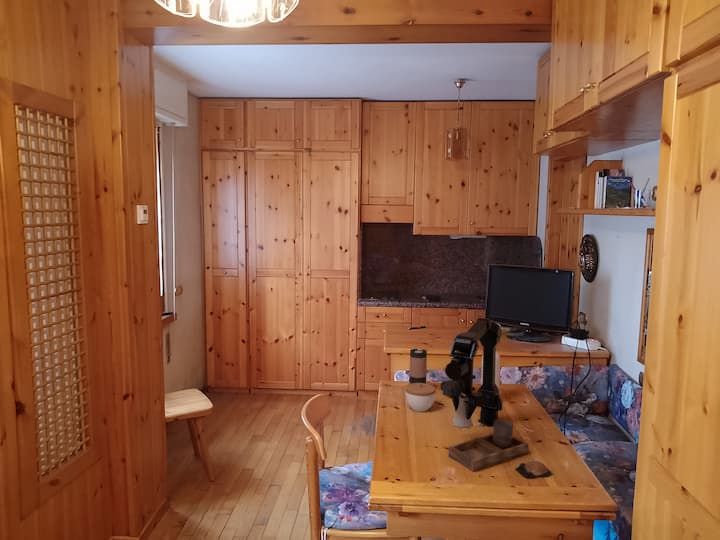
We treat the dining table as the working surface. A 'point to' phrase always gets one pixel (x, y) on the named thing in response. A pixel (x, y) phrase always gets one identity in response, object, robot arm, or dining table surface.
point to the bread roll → (533, 470)
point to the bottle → (497, 370)
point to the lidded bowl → (420, 396)
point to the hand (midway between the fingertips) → (462, 416)
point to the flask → (462, 415)
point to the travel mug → (418, 366)
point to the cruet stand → (489, 448)
